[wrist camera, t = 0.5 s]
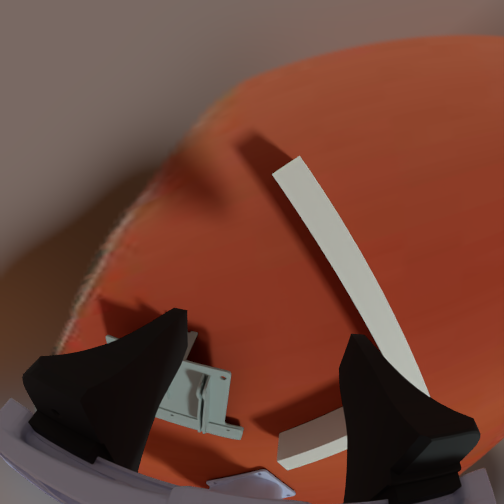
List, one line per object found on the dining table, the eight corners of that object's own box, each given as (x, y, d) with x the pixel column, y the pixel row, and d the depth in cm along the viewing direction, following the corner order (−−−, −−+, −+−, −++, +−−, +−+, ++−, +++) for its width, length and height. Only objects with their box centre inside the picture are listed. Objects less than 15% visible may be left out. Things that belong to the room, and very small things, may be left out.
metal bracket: (73, 334, 19) (254, 391, 18) (107, 294, 24) (265, 335, 23) (111, 416, 26) (236, 456, 25) (130, 381, 31) (246, 414, 30)
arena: (288, 442, 26) (287, 470, 22) (145, 270, 23) (121, 284, 19) (418, 379, 22) (432, 403, 19) (297, 162, 20) (299, 155, 16)
